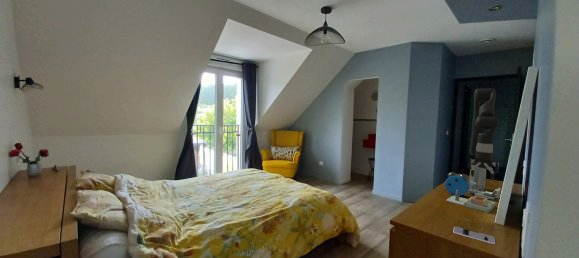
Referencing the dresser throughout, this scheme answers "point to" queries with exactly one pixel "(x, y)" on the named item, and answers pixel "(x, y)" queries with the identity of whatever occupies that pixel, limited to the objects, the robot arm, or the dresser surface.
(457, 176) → the alarm clock
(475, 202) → the ring
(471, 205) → the tray
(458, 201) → the stake board
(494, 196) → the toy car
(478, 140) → the robot arm
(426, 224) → the dresser surface
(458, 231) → the mobile phone
